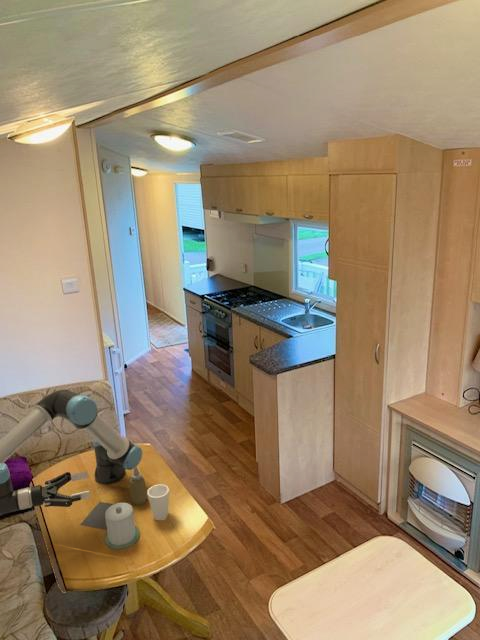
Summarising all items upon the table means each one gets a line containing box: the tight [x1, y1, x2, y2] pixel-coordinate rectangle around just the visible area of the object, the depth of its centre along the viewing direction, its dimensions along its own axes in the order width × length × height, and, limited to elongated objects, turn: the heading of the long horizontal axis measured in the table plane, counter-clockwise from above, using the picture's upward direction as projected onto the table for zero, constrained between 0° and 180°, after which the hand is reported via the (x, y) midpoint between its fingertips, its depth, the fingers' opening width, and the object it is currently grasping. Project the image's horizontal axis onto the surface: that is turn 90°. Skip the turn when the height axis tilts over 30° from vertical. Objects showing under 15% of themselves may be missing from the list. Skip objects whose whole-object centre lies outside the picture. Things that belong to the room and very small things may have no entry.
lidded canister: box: [105, 502, 136, 545], centre depth 205 cm, size 11×11×14 cm
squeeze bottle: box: [129, 467, 148, 506], centre depth 226 cm, size 8×8×18 cm
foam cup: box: [147, 483, 170, 522], centre depth 217 cm, size 10×9×13 cm
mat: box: [79, 501, 115, 531], centre depth 220 cm, size 16×14×1 cm
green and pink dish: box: [104, 525, 141, 550], centre depth 206 cm, size 14×14×5 cm
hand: (88, 483), depth 196 cm, fingers open, 13 cm apart
